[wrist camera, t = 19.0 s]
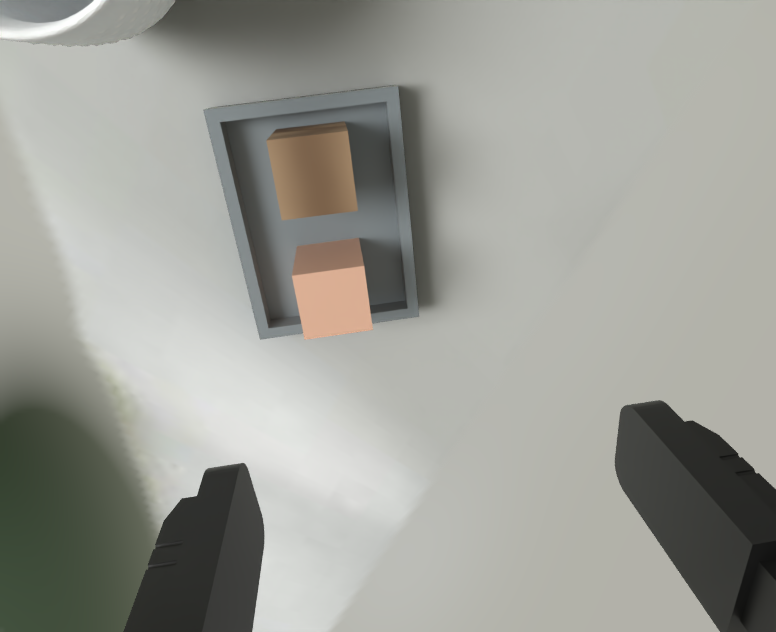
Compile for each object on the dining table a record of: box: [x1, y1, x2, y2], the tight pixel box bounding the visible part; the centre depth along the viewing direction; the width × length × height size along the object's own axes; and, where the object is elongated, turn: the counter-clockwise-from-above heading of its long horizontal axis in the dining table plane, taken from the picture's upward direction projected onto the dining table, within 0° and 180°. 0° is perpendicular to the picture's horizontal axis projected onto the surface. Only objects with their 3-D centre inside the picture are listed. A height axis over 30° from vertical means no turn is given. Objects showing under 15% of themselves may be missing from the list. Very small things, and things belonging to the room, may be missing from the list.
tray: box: [203, 85, 419, 340], centre depth 36 cm, size 16×12×2 cm
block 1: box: [266, 121, 358, 220], centre depth 32 cm, size 4×4×6 cm
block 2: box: [292, 238, 373, 340], centre depth 36 cm, size 4×4×6 cm
